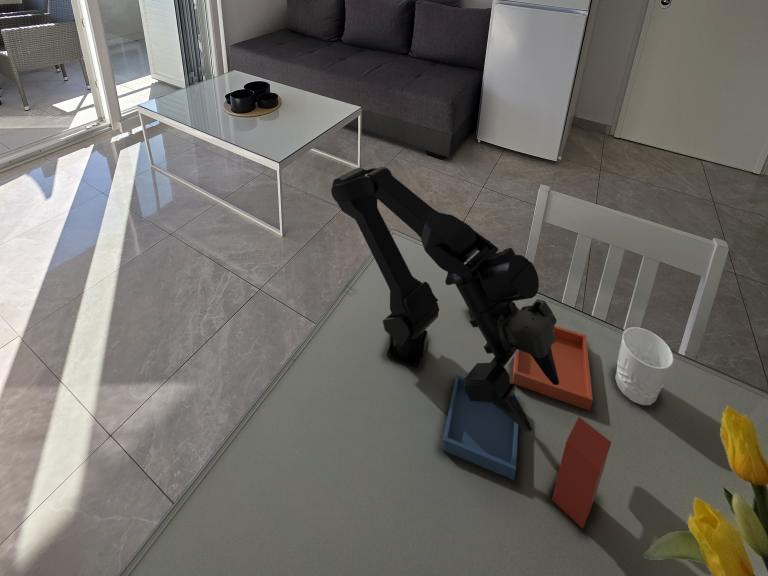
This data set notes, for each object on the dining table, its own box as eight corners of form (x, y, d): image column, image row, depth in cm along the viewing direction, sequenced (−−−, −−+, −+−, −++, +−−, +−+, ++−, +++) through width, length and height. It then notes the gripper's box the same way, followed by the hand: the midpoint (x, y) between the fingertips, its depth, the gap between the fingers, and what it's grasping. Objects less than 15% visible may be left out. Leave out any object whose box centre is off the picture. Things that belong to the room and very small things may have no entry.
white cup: (667, 414, 75) (681, 373, 72) (619, 403, 76) (630, 363, 73) (650, 370, 82) (662, 331, 79) (606, 361, 84) (616, 323, 80)
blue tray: (442, 450, 69) (443, 439, 68) (455, 383, 79) (456, 373, 78) (514, 480, 65) (516, 469, 65) (517, 406, 75) (519, 396, 75)
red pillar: (551, 500, 63) (566, 441, 59) (564, 474, 66) (578, 416, 62) (582, 529, 60) (600, 469, 56) (594, 500, 63) (611, 441, 59)
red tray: (512, 383, 79) (514, 373, 78) (516, 324, 91) (518, 314, 90) (590, 410, 75) (592, 400, 74) (583, 345, 87) (586, 335, 86)
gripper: (490, 338, 55) (560, 467, 52) (552, 263, 68) (612, 362, 64) (438, 343, 63) (496, 455, 59) (502, 274, 76) (554, 363, 72)
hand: (543, 406), depth 64 cm, fingers open, 9 cm apart
